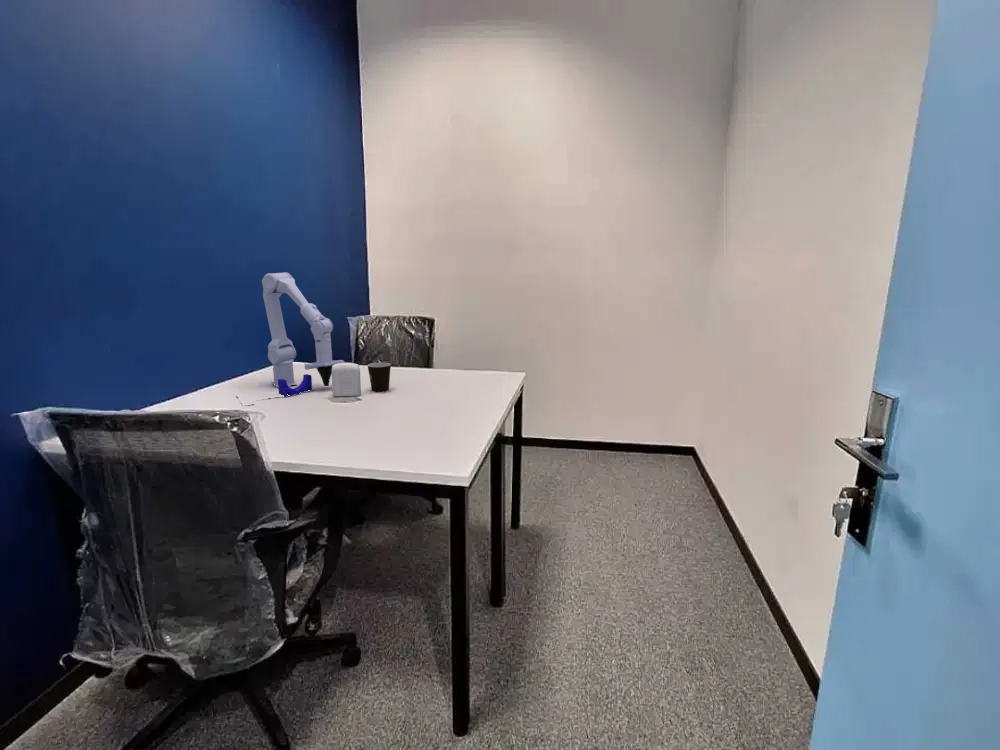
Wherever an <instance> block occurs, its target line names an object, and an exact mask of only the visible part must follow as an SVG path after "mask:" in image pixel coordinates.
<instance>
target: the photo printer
mask: <svg viewBox="0 0 1000 750" xmlns="http://www.w3.org/2000/svg"><path fill="white" fill-rule="evenodd" d="M331 372H332V374H331V389H332V396H333V397H357V396H358V397H359V396H360V397H361V396H362V389H361V388H362V387H361V368H360V365H359V364H357V363H353V362H344V363H338V364H335V365H333V366H332V370H331Z"/></svg>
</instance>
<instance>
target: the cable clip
mask: <svg viewBox="0 0 1000 750" xmlns="http://www.w3.org/2000/svg"><path fill="white" fill-rule="evenodd" d="M302 377H303V378H302V381H301V383H300V384H299V385H297V386H296V387H294V388H292V387H291V386H288V385H287V383H286V380H284V379H278V388H277V389H278V394H281V395H284V396H288V395H294V394H299V393H300V392H303V393H305V392H304V391H308V390H312V391H313V378H312V374H303V376H302ZM308 392H309V391H308ZM287 394H288V395H287ZM300 394H301V393H300ZM300 394H299V395H300ZM294 396H295V395H294Z"/></svg>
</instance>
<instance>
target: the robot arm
mask: <svg viewBox="0 0 1000 750" xmlns="http://www.w3.org/2000/svg"><path fill="white" fill-rule="evenodd" d="M261 283H262V284H261V285H262V297H263V301H264V302H263V303H264V306H265V312H266V316H267V321H268V327H269V331H270V335H271V341H270V342H269V344H268V345H267V349H268V351H267V358H268V361H270V362H271V364H272V371H273V372H272V374H273V381H272V382H271V384H272V383H274V384H275V386H276V387H278V379H284V380H286V383H287V385H288V386H289V387H292V386H291V385H296V386H298V384H297V383H296V381H295V375H294V360H295V358H296V357H297V351H296V348H295V347H294V345H293V344H294V343H293V341H292V340H291V339H289V337H287V331H286V327H285V322H284V318H283V312H282V308H281V302H280V297H281V296H282V295H283V294H287V295H288V296H289V298H290V299H292V301H293V302H294V303H295V304H296V305H297V306H298V307H299V308H300V311H299V312H300V314H301V316H303V318H304V319H305V320H306V321H307V322H308V324H309V325H310V332H311V333H312V335H313V339H314V342H315V343H314V344H315V345H314V346H315V355H316V361H313V362H311V363H304V369H305V371H307V370H313V369H316V370H317V372H318V374H319V376H320V378H321V380H322V383H323V386H324V387H329V386H330V380H331V378H332V372H331V370H332V366H333V365H335V364H338V363H345V360H343V359H338V360H336V359H335V360H333V351H332V338H331V333H332V332H333V329H334V323H333V322H332V320H331V318H328V317H325V316H324V315H322V313H321V312H320V310H319V309H318V307H317V305H316V304H314V303H311V302H310V303H309V302H308V300H307V299H306V298H305V296H304V295H303V293H302V292H301V290H300V289H299V287H298V286H297V285H296V279H295V278H294V277H293V276H292V275H291V274H290V273H289V272H286V271H284V272H275V273H274V272H273V273H271V272H268V273H266V274H265V275H264V276H263V278H262V279H261ZM275 386H274V387H275ZM276 387H275V388H276Z"/></svg>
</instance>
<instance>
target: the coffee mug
mask: <svg viewBox="0 0 1000 750" xmlns="http://www.w3.org/2000/svg"><path fill="white" fill-rule="evenodd" d="M391 364H392V363H389V362H373V363H368V364H367V371H368V375H369V376H368V377H369V382H370V388H371V392H372V393H385V392H388V391H389V390H390V382H391V381H390V380H391V379H390V377H391Z"/></svg>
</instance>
